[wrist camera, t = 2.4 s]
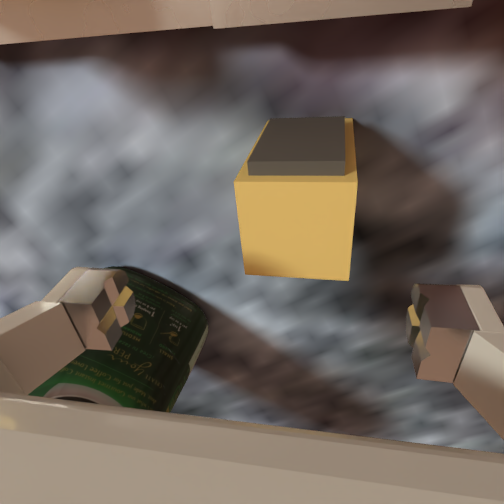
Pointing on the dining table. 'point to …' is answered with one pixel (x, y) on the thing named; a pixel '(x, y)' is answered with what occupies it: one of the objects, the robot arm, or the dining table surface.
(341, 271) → the yellow block grey top
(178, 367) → the coffee jar
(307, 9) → the beige base with post
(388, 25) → the dining table surface
